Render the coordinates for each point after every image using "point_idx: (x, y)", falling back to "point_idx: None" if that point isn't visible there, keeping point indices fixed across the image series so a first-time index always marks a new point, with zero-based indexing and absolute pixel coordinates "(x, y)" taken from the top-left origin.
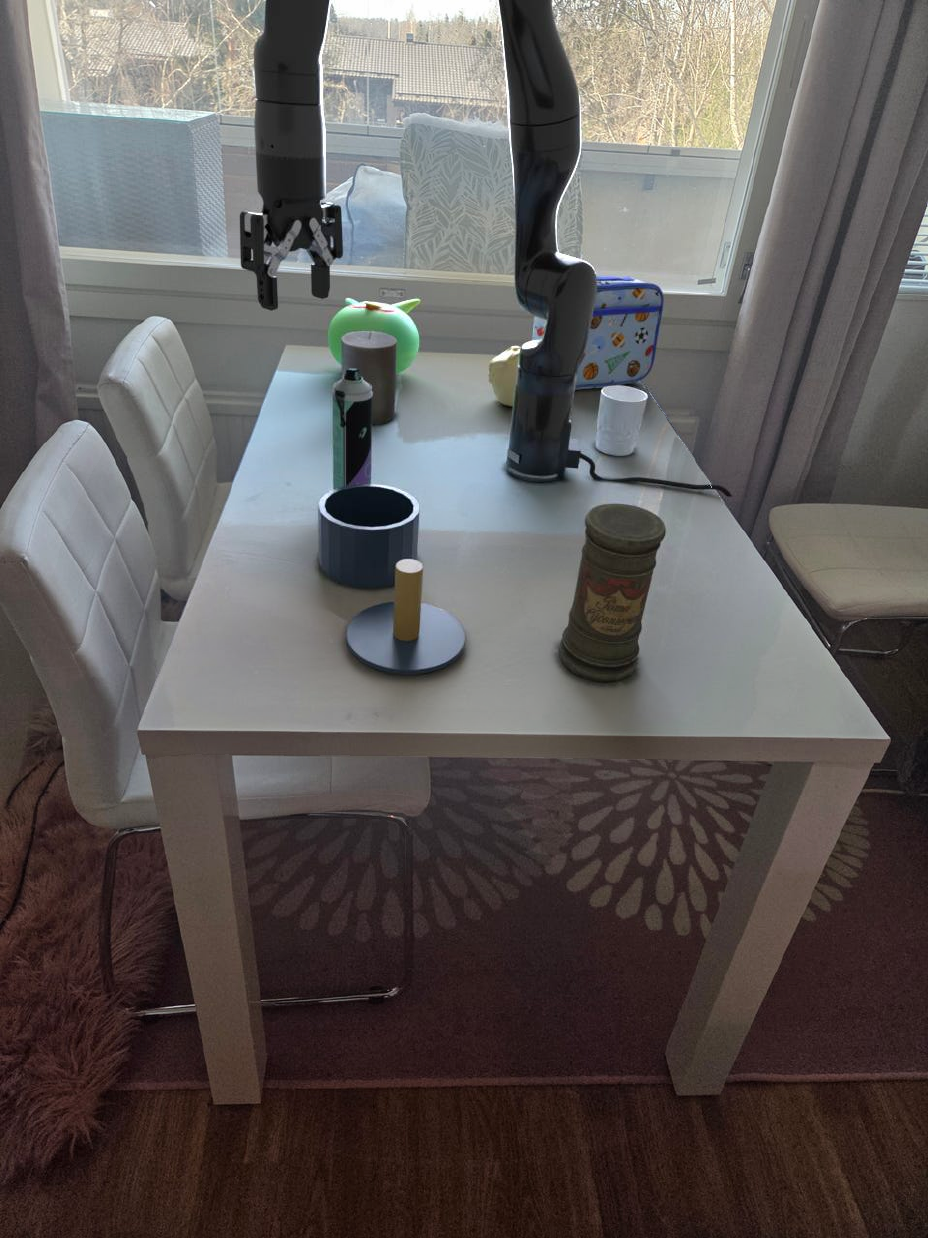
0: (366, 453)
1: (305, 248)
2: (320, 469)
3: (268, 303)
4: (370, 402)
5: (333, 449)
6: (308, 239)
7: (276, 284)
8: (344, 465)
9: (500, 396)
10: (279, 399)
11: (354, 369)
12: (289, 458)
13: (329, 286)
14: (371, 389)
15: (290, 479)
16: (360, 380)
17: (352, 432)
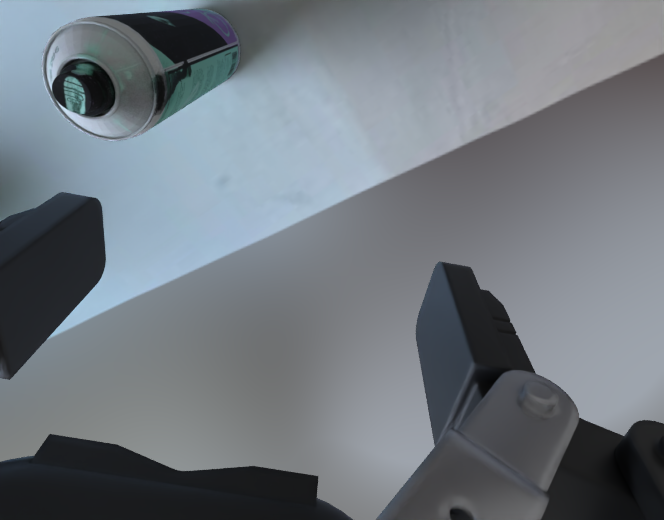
0: (169, 13)
1: (107, 447)
2: (144, 168)
3: (489, 295)
4: (99, 16)
5: (203, 92)
6: (15, 517)
7: (471, 331)
8: (216, 52)
9: None
10: None
11: (70, 86)
12: (150, 230)
13: (9, 219)
14: (69, 23)
15: (207, 188)
16: (84, 54)
17: (183, 40)
